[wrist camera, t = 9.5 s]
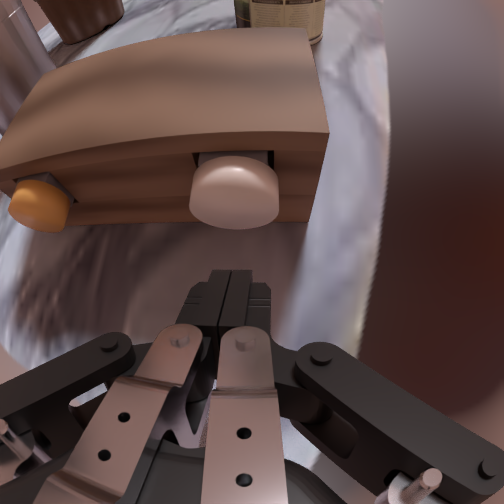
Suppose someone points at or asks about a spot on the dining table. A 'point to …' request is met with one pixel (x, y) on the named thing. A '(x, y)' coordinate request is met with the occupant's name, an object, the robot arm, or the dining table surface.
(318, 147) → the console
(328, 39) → the dining table surface
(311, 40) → the coffee can
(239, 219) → the ivory button
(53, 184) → the amber button
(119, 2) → the plant pot
